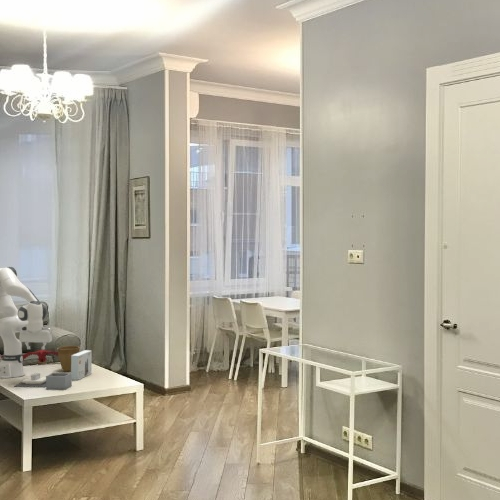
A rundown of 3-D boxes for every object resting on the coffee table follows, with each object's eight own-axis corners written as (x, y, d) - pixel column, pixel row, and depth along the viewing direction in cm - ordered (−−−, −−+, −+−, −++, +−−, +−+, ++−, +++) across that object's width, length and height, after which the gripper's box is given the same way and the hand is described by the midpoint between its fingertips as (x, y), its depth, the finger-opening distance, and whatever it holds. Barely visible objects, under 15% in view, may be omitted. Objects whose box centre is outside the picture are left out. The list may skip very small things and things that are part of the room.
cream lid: (22, 384, 436) (22, 375, 436) (29, 381, 446) (29, 372, 446) (41, 385, 434) (41, 376, 434) (48, 381, 445) (48, 372, 444)
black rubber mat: (13, 386, 433) (13, 385, 433) (27, 380, 450) (27, 379, 450) (45, 387, 430) (44, 386, 430) (56, 381, 448) (56, 380, 448)
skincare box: (78, 380, 449) (78, 355, 449) (70, 380, 450) (70, 355, 450) (92, 373, 470) (92, 349, 469) (84, 373, 471) (84, 349, 471)
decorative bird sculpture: (21, 370, 504) (20, 357, 494) (22, 360, 510) (20, 347, 500) (62, 368, 511) (62, 355, 500) (62, 358, 517) (62, 345, 507)
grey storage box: (46, 389, 425) (46, 376, 424) (53, 385, 434) (52, 372, 434) (65, 389, 423) (65, 376, 423) (71, 386, 433) (71, 373, 433)
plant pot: (82, 371, 477) (82, 348, 476) (60, 373, 470) (59, 349, 470) (77, 367, 490) (77, 344, 490) (55, 369, 483) (55, 346, 483)
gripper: (53, 326, 441) (53, 348, 442) (22, 326, 444) (22, 348, 445) (49, 328, 435) (49, 350, 435) (18, 327, 438) (18, 349, 438)
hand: (35, 349), depth 440 cm, fingers open, 8 cm apart
